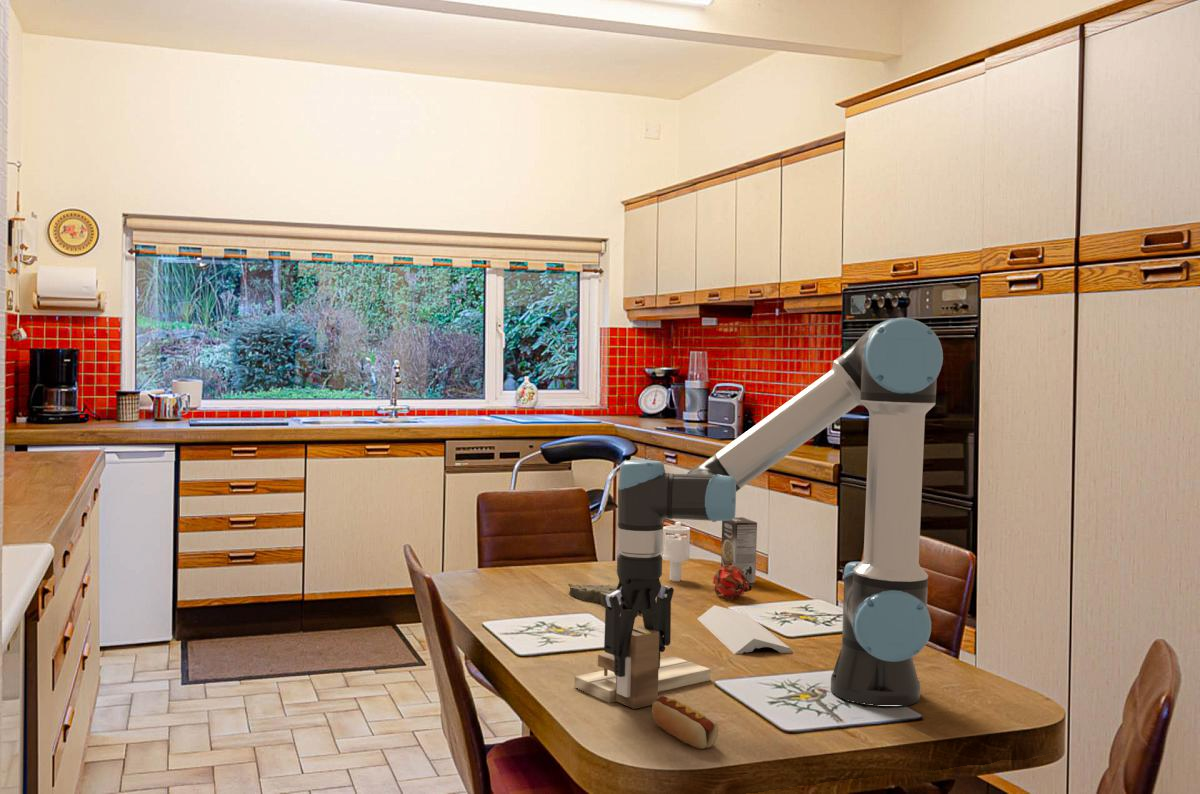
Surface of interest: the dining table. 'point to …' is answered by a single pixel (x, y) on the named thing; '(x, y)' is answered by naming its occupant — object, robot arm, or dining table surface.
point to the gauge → (638, 668)
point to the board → (669, 677)
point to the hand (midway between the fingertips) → (636, 691)
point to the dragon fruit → (731, 582)
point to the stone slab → (592, 592)
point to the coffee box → (740, 545)
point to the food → (684, 723)
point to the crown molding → (739, 631)
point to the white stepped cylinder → (676, 548)
